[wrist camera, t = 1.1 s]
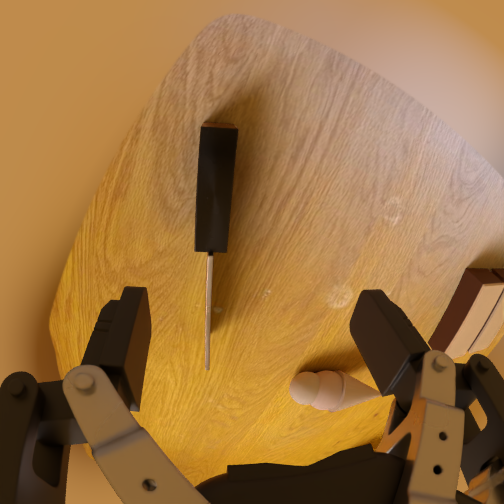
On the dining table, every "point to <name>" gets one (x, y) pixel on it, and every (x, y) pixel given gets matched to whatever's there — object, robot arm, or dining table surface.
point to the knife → (214, 201)
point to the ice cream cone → (330, 390)
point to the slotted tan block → (472, 314)
